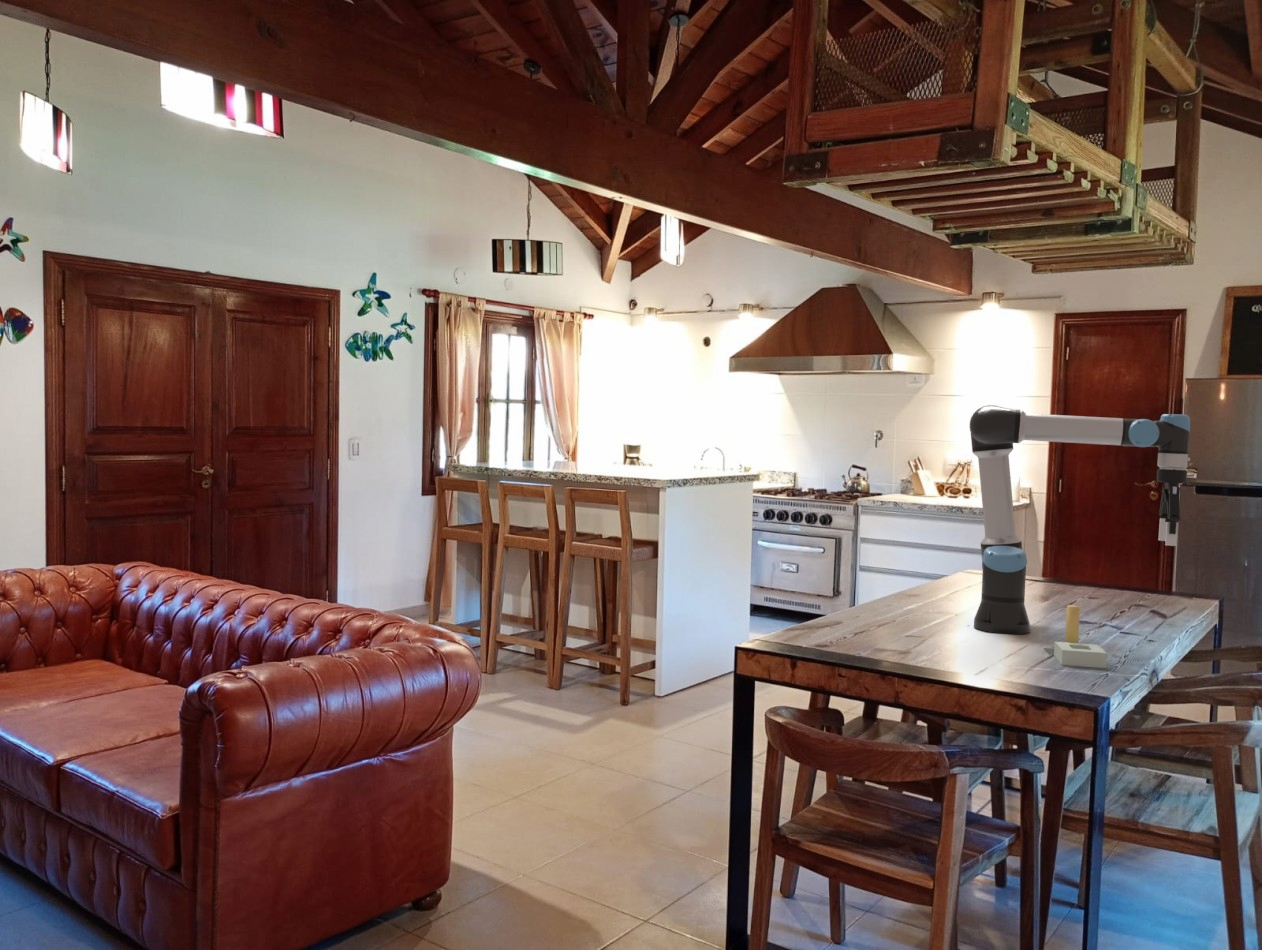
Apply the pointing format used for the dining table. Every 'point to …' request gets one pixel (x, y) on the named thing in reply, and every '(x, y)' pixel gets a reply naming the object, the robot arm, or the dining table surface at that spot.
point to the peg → (1072, 624)
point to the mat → (1049, 651)
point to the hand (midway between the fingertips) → (1167, 543)
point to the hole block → (1080, 654)
